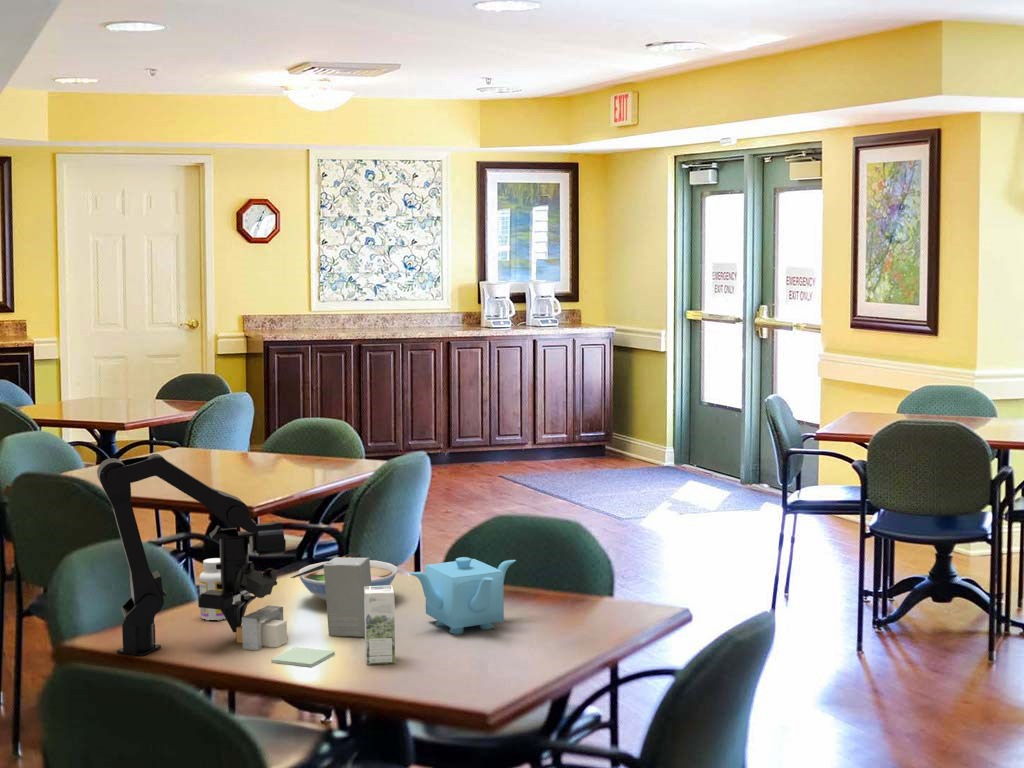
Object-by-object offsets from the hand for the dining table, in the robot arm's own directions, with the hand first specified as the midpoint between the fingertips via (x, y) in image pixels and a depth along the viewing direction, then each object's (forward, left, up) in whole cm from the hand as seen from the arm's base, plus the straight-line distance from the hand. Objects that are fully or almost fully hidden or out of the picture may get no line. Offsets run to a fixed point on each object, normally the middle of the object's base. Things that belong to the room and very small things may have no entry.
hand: (236, 632), depth 286 cm
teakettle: (+25, -41, -2) cm, 48 cm away
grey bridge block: (0, -7, -2) cm, 7 cm away
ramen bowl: (+35, -7, -2) cm, 36 cm away
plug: (0, -6, -2) cm, 6 cm away
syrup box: (-3, -35, -2) cm, 35 cm away
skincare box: (+12, -20, -2) cm, 23 cm away
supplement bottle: (+13, +14, -2) cm, 20 cm away
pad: (-7, -20, -2) cm, 21 cm away
